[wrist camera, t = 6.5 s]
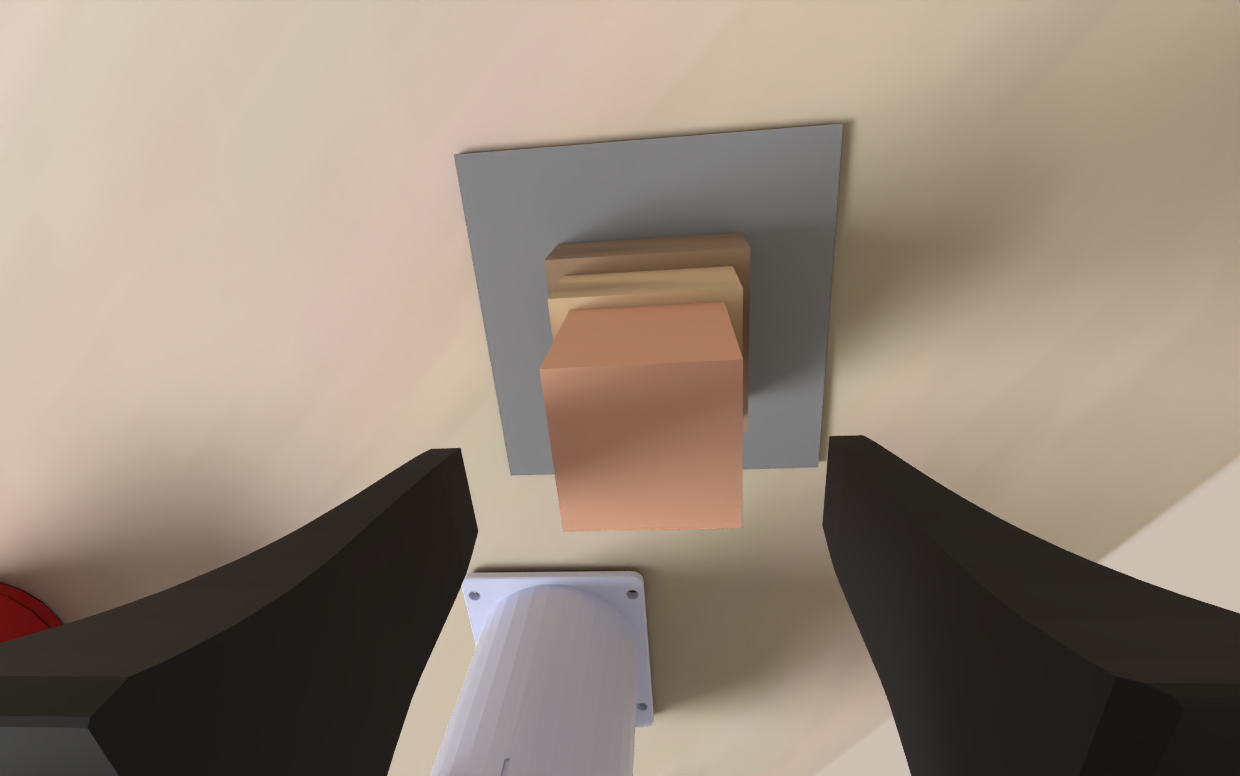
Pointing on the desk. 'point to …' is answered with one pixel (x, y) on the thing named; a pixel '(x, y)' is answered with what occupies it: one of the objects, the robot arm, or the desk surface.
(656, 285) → the tower middle
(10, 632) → the plastic cup
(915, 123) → the desk surface
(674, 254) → the tower base
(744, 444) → the mat
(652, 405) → the cube
